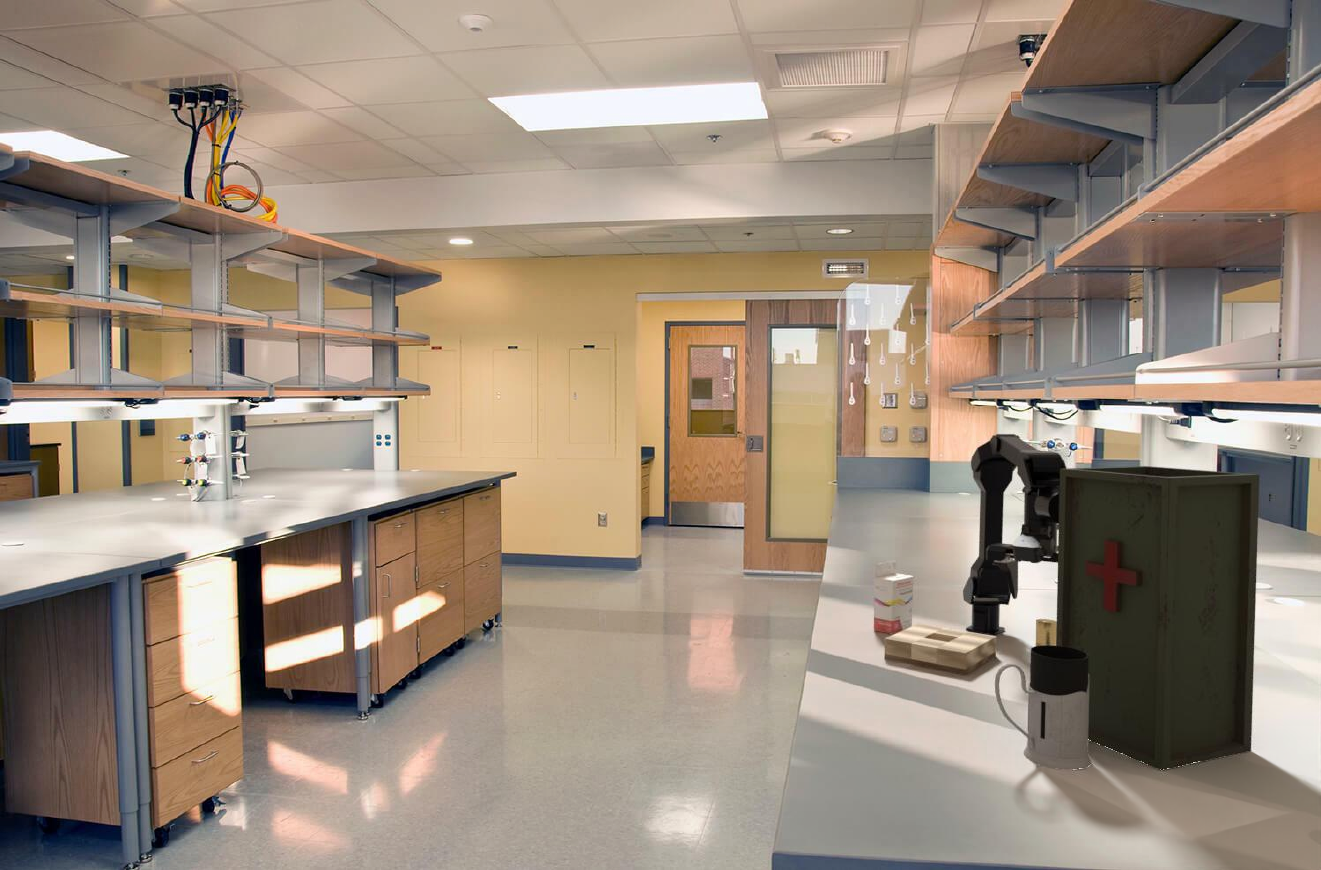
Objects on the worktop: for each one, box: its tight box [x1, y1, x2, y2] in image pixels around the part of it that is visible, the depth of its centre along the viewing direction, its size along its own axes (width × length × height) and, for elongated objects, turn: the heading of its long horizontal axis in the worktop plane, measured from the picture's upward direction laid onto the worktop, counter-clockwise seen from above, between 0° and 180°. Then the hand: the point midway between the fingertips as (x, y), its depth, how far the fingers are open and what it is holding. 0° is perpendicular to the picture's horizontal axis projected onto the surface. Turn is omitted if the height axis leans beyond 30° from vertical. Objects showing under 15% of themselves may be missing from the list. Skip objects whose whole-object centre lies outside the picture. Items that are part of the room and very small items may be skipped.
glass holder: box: [994, 645, 1092, 770], centre depth 127 cm, size 9×14×15 cm, turn 102°
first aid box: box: [1056, 465, 1260, 771], centre depth 135 cm, size 18×18×40 cm
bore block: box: [884, 623, 997, 676], centre depth 178 cm, size 16×16×4 cm
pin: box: [1035, 618, 1057, 646], centre depth 171 cm, size 4×4×9 cm
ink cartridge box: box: [873, 559, 914, 635], centre depth 200 cm, size 9×5×15 cm, turn 135°
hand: (1039, 601), depth 171 cm, fingers open, 9 cm apart
